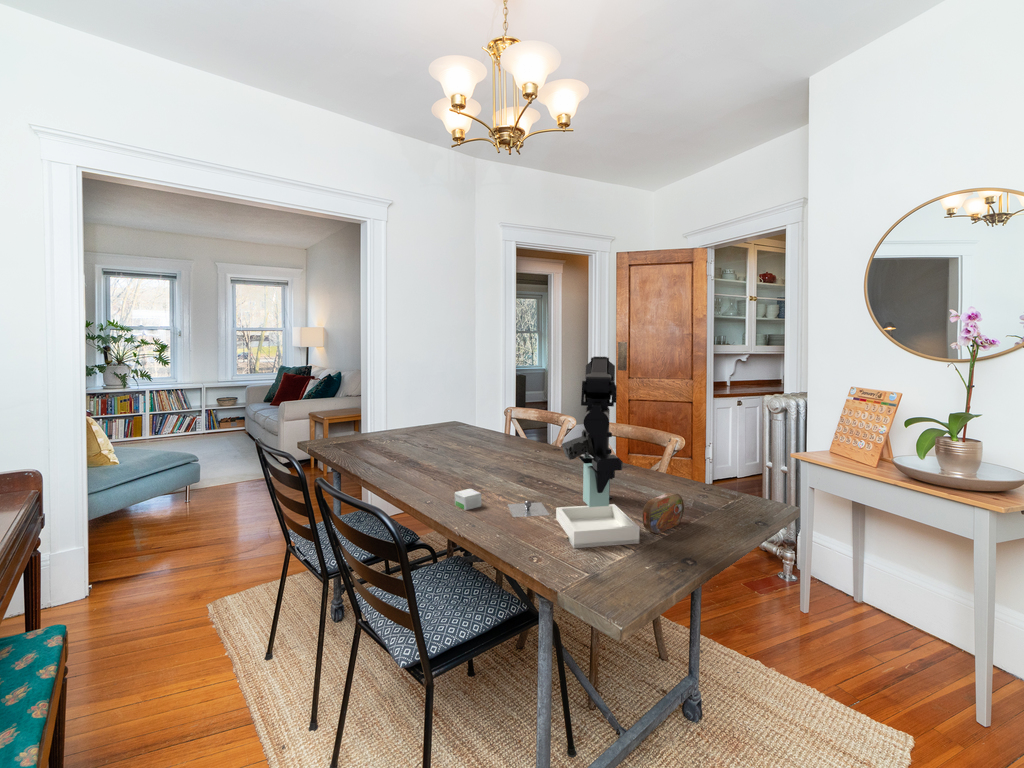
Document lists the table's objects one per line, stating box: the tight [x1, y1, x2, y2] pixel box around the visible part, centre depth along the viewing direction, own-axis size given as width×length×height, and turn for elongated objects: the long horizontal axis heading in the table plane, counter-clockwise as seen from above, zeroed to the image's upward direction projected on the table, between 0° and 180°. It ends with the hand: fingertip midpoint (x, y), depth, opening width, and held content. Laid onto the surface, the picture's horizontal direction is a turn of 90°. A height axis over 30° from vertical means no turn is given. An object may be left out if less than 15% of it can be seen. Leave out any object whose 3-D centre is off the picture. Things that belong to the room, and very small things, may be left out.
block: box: [582, 463, 611, 507], centre depth 121 cm, size 5×5×10 cm
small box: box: [454, 488, 482, 511], centre depth 139 cm, size 6×6×5 cm
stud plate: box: [507, 500, 550, 518], centre depth 136 cm, size 10×10×4 cm
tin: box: [642, 492, 685, 534], centre depth 125 cm, size 15×3×8 cm, turn 129°
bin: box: [555, 503, 640, 549], centre depth 122 cm, size 16×16×4 cm
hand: (596, 489), depth 121 cm, fingers closed on block, 5 cm apart
